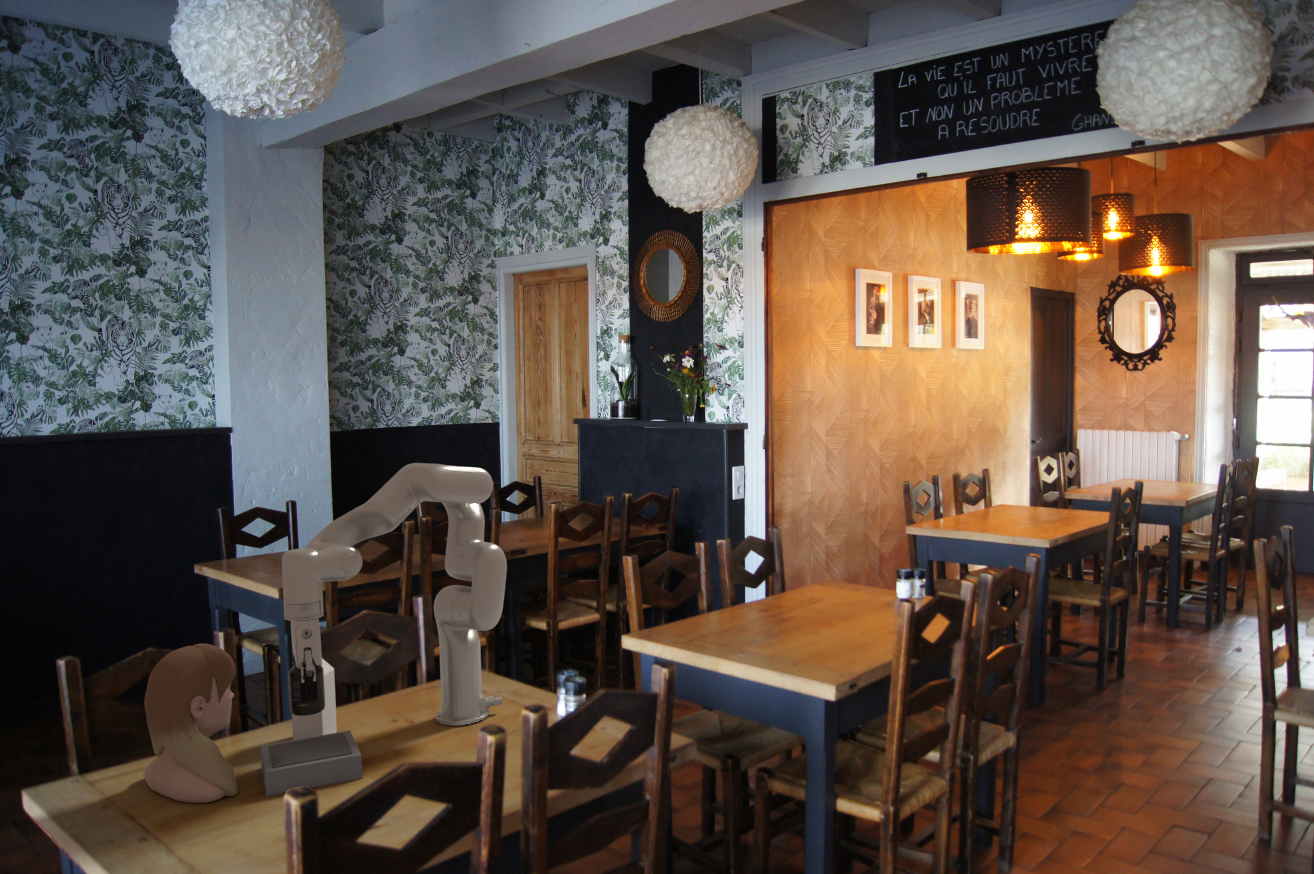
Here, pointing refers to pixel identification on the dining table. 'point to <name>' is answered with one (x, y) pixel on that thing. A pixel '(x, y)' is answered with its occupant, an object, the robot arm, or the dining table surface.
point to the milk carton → (322, 720)
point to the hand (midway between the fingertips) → (307, 695)
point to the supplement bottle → (294, 692)
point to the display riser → (310, 762)
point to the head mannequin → (190, 724)
